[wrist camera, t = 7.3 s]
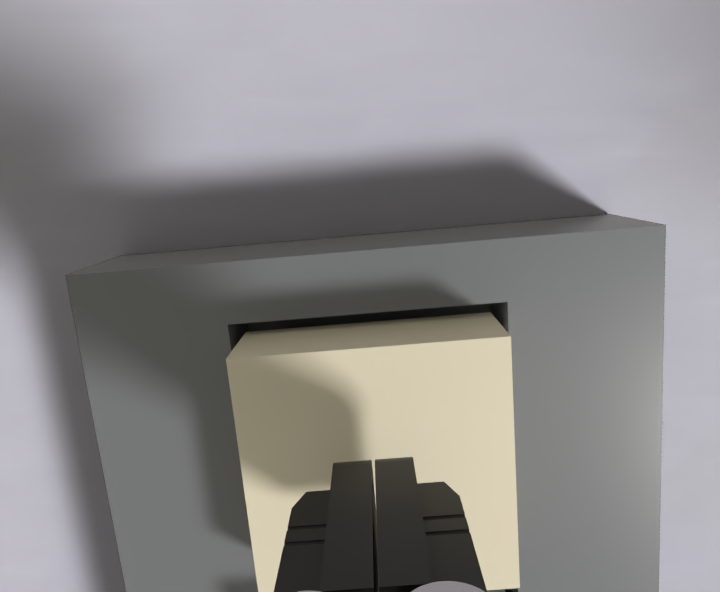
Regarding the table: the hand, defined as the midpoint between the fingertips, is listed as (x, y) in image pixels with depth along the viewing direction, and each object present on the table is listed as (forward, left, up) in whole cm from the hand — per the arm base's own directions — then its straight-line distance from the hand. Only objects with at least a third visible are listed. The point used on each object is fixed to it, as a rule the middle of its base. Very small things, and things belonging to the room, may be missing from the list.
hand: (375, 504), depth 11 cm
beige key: (0, 0, -3) cm, 3 cm away
